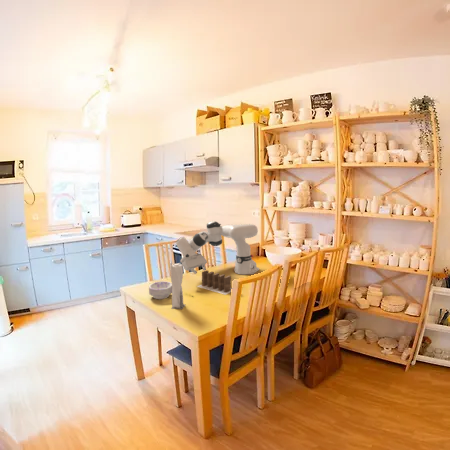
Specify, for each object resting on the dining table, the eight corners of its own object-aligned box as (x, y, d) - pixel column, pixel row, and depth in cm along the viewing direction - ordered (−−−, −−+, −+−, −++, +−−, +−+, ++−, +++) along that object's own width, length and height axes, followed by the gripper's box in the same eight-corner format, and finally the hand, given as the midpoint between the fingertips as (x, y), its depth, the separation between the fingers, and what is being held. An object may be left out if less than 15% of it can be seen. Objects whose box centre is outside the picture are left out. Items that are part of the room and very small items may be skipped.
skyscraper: (168, 308, 188) (167, 263, 183) (173, 303, 195) (171, 259, 191) (182, 309, 186) (181, 263, 182) (186, 304, 194) (185, 260, 190)
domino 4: (218, 290, 214) (218, 276, 212) (223, 288, 218) (222, 274, 216) (220, 290, 213) (220, 276, 211) (225, 288, 217) (224, 274, 215)
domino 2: (207, 287, 220) (207, 273, 219) (212, 285, 224) (211, 271, 222) (209, 287, 219) (209, 273, 217) (214, 285, 223) (213, 272, 221)
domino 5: (224, 291, 211) (224, 277, 209) (228, 289, 215) (228, 275, 213) (226, 292, 210) (226, 278, 208) (230, 290, 214) (230, 276, 212)
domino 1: (202, 285, 223) (201, 272, 222) (206, 283, 227) (206, 270, 226) (204, 286, 222) (203, 272, 221) (208, 284, 226) (208, 270, 224)
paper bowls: (149, 302, 197) (149, 290, 196) (148, 293, 211) (148, 282, 210) (174, 299, 201) (173, 287, 200) (171, 291, 215) (171, 280, 214)
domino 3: (212, 288, 217) (212, 274, 215) (217, 286, 221) (217, 272, 219) (214, 289, 216) (214, 275, 214) (219, 287, 220) (219, 273, 218)
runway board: (207, 283, 231) (207, 281, 231) (236, 290, 215) (236, 289, 215) (196, 287, 222) (196, 286, 222) (225, 296, 206) (225, 294, 206)
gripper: (198, 255, 239) (208, 270, 235) (178, 261, 224) (188, 277, 219) (202, 250, 236) (212, 265, 231) (182, 256, 220) (192, 272, 216)
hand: (200, 271), depth 225 cm, fingers open, 8 cm apart
